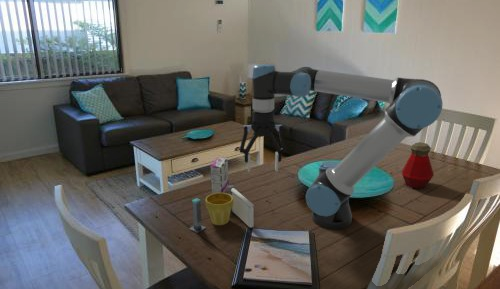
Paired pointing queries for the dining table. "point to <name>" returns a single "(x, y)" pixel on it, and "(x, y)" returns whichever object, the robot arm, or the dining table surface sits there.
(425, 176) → the bottle
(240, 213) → the white rounded panel
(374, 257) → the dining table surface
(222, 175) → the candy bar box
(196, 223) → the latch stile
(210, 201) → the plant pot
